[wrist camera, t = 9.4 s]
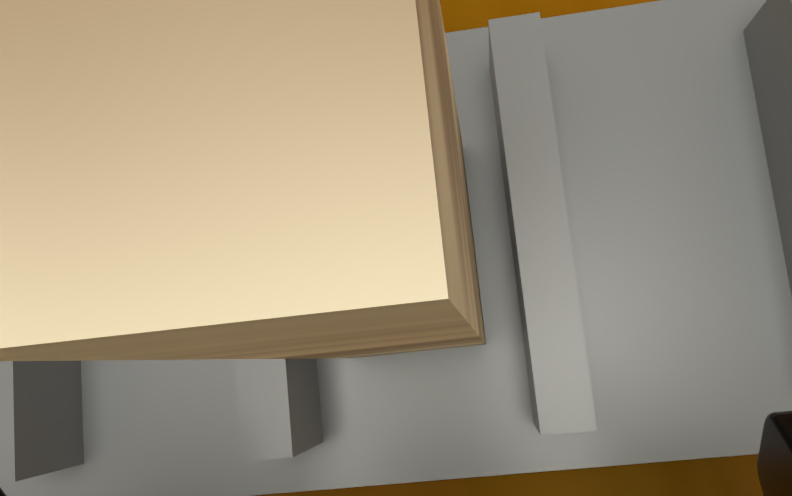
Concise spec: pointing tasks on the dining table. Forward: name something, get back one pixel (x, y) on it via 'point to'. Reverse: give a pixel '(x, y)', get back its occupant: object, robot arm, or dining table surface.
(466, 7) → the dining table surface
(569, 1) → the dining table surface
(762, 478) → the robot arm
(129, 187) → the birch block
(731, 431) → the slotted rack
